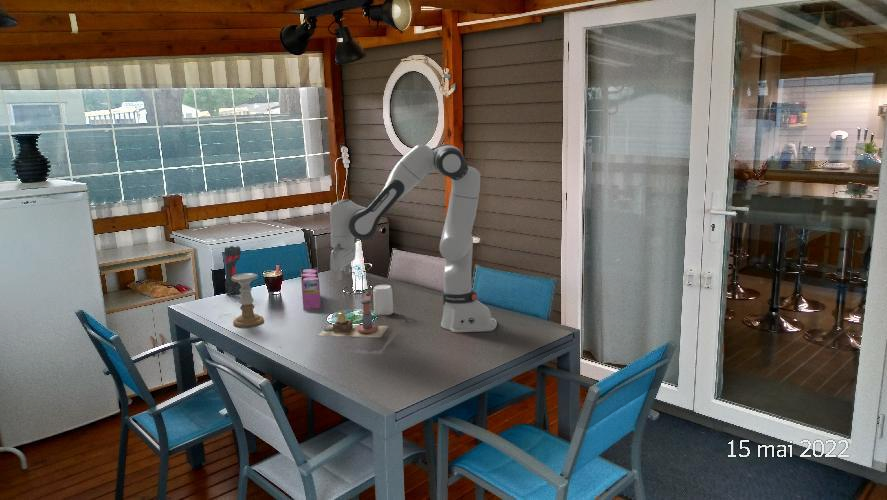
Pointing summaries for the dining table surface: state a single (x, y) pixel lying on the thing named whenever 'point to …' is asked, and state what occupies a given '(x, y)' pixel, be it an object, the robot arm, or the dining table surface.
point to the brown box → (343, 327)
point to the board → (355, 332)
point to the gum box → (310, 289)
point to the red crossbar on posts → (367, 316)
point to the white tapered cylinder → (383, 300)
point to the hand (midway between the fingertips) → (343, 276)
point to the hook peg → (341, 318)
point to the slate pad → (328, 329)
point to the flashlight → (232, 269)
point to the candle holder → (246, 302)
